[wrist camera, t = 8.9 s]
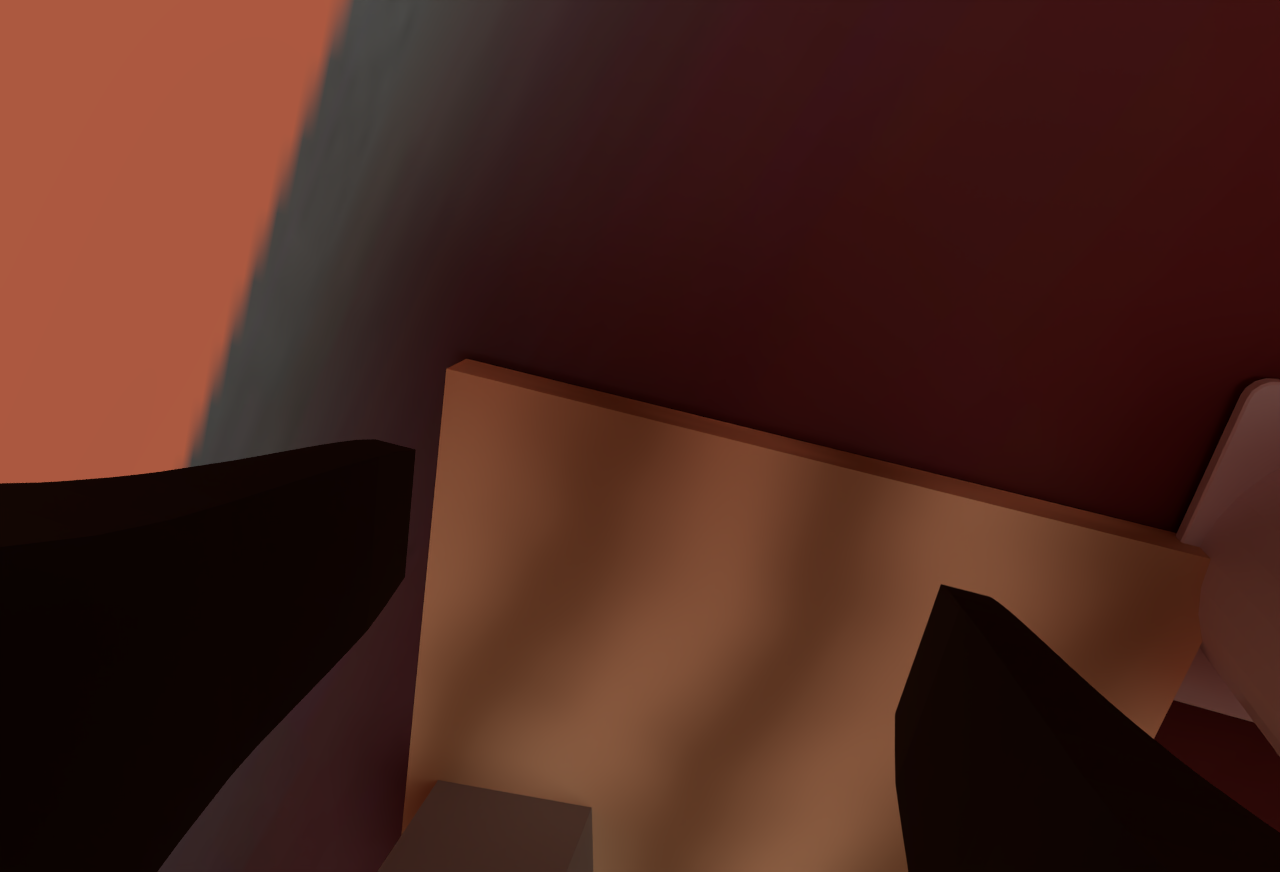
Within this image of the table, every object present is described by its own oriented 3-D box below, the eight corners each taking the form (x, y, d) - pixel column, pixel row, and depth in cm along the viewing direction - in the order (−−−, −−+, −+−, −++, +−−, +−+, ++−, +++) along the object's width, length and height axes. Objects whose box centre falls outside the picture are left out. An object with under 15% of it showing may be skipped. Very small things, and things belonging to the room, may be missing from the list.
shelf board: (1217, 543, 19) (1298, 625, 16) (932, 1132, 27) (946, 1274, 23) (466, 358, 22) (396, 393, 19) (405, 935, 30) (348, 1035, 26)
